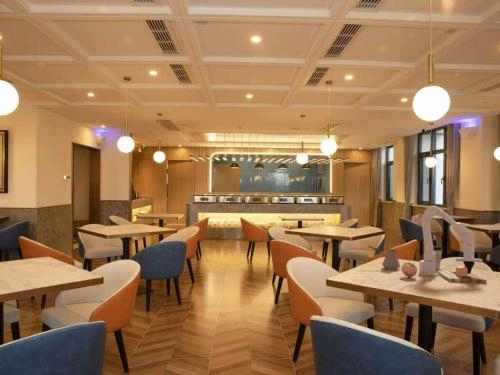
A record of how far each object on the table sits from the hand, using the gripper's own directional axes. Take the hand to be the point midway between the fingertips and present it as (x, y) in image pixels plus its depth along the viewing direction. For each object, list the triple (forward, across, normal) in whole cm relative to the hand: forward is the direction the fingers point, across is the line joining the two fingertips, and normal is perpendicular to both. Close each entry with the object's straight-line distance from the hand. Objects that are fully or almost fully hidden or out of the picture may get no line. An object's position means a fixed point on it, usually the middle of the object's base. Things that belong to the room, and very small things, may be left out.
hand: (468, 273), depth 243 cm
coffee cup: (+3, -10, +32) cm, 34 cm away
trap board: (+3, -4, 0) cm, 5 cm away
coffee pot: (+3, -46, +22) cm, 52 cm away
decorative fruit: (+3, -35, -5) cm, 36 cm away
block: (+1, -4, 0) cm, 4 cm away
